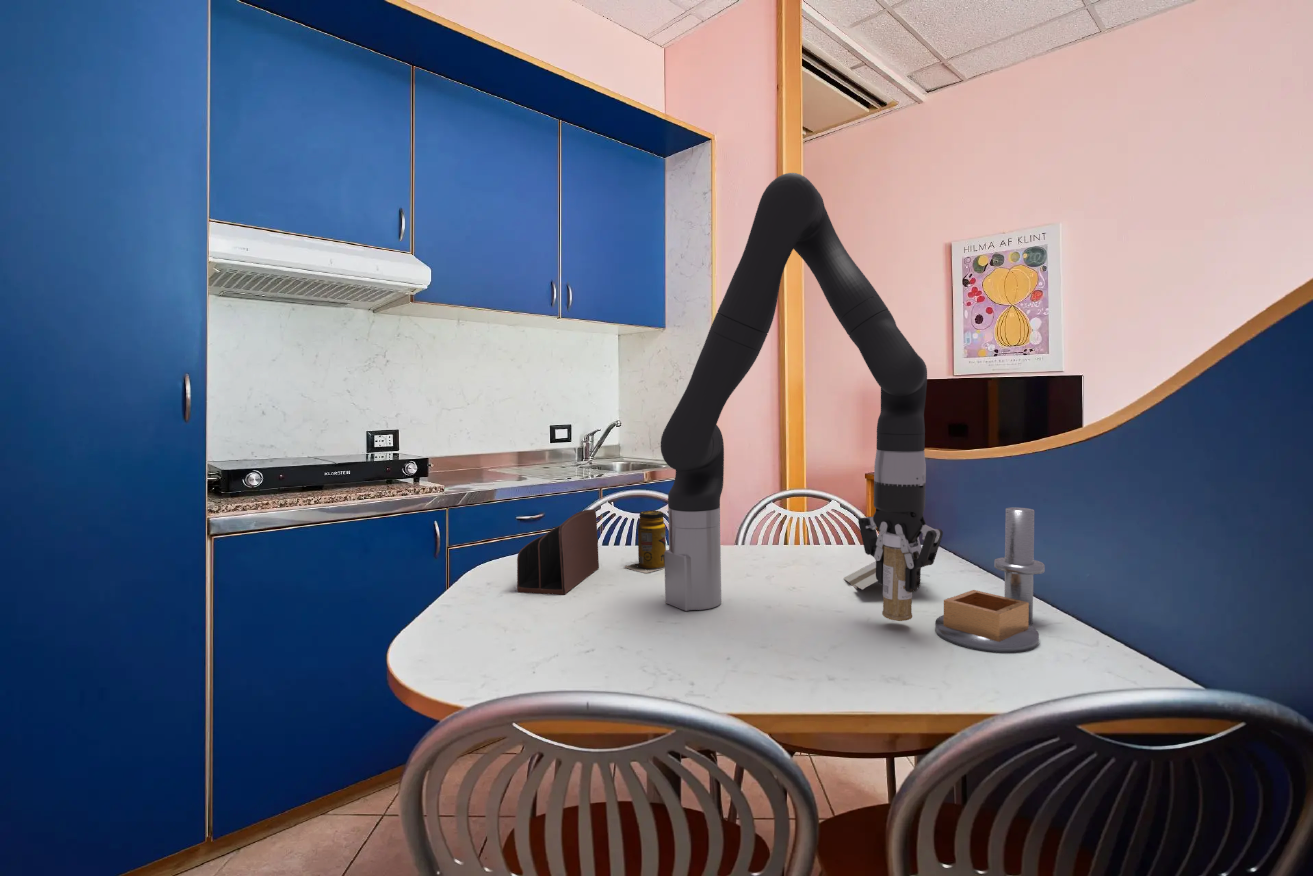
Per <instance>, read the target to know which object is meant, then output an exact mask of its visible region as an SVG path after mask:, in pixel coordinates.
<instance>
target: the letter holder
mask: <svg viewBox="0 0 1313 876" xmlns="http://www.w3.org/2000/svg"><path fill="white" fill-rule="evenodd" d="M516 563H517V564H516V568H517V569H516V571H517V572H516V573H517V574H516V576H517V577H516V583H517V584H516V587H517V589H516V590H517V591H516V592H517V593H519V594H520V593H523V594H538V595H539V594H540V595H556V596H566V594H568V592H570V591H571V590H573V589H574V588H575V587H577V586H578V585H580V584H581V583H582V582H583V581H585V580H586V579H587V578H589V577H590V576H591V575H592V574H594V573H595V572H596V571H597V570H599V569H600V563H599V543H598V522H597V512H596V511H595V510H594V509H592V508H591V509H585V510H581V511H578V512H576V513H575V514H572V515H571V516H570V517H568V518H567V519H566V520H565V521H563V522H562V523H561V524H560V525H558V526H555V527H554V528H552V529H551V530H550V531H548V532H547V533H545V534H543V535H541V536H538V537H537V538H535V539H533V540H532V541H530V542H529V543H527V544H526V545H524V546H523V547H522V548H521V549H520V550H519V552H518V554H517V559H516Z"/></svg>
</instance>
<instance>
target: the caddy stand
mask: <svg viewBox="0 0 1313 876" xmlns="http://www.w3.org/2000/svg"><path fill="white" fill-rule="evenodd" d="M1004 522H1005V527H1004V528H1005V530H1004V531H1005V532H1004V534H1005V537H1004V538H1005V539H1004V540H1005V541H1004V542H1005V544H1004V557H1003V556H1002V557H998V558H995V559H994V562H993V564H994V568H995V569H996V570H997V571H1001V572H1004V596H1002V595H997V594H993V593H988V592H984V591H980V590H975V589H972V590H969V591H966V592H963V593H960V594H957V595H954V596H951V597H948V598H947V599H946V598H945V599H943V615H940V616H938V617H937V618H936V619H935V624H934V626H935V627H934V628H935V633H936V635H937V636H939V637H940V638H941V639H943V640H945V641H947V642H948V643H951V644H953V645H956V646H959V647H962V648H966V649H971V650H974V651H975V650H976V651H979V652H980V651H981V652H987V653H988V652H989V653H996V654H997V653H999V654H1001V653H1002V654H1010V653H1013V654H1014V653H1015V654H1016V653H1023V652H1028V651H1031V650H1034V649H1036V648H1037V647H1038V646H1039V644H1040V634H1039V631H1038V630H1037V629H1036V628H1035V627H1034V626H1032V625H1033V623H1034V622H1033V619H1034V618H1033V617H1034V575H1040V574H1043V573H1045V569H1046V568H1045V563H1044V562H1042V561H1039V560H1036V559H1035V558H1034V557H1035V555H1034V554H1035V553H1034V551H1035V510H1034V509H1032V508H1027V507H1006V508H1005V521H1004Z"/></svg>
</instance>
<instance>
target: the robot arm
mask: <svg viewBox="0 0 1313 876" xmlns="http://www.w3.org/2000/svg"><path fill="white" fill-rule="evenodd" d="M751 225H752V226H751V229H750V232H749V235H748V239H747V242H746V244H745V247H744V250H743V253H742V256H741V257H740V260H739V262H738V265H737V267H736V269H735V271H734V273H733V275H732V277H731V280H730V283H729V285H728V287H727V289H726V291H725V295H724V297H723V298H722V301H721V303H720V305H719V307H718V310H717V312H716V314H715V315H714V319H713V321H712V323H711V325H710V329H709V330H708V333H707V336H706V339H705V342H704V344H703V347H702V349H701V351H700V354H699V356H698V358H697V360H696V361H697V362H696V364H695V367H694V369H693V371H692V375H691V377H690V379H689V382H688V383H687V386H686V388H685V391H684V393H683V394H682V397H681V398H680V400H679V401H678V404H677V405H676V408H675V409H674V411H673V413H672V415H671V417H670V418H669V420H668V422H667V424H666V425H665V428H664V430H663V432H662V435H661V438H660V453H661V456H662V459H663V460H664V462H665V464H666V465H667V466H668V467H670V468H672V470H675V474H674V475H675V478H674V481H673V485H672V486H671V488H670V490H669V491H668V494H667V508H668V511H667V513H668V515H667V516H668V519H667V520H668V549H666V551H665V552H664V559H665V569H664V597H665V600H664V603H665V604H668V605H670V606H673V607H675V608H677V609H680V610H682V611H685V612H688V611H696V610H697V611H698V610H699V611H702V610H708V609H713V608H716V607H718V606H720V605H721V604H722V561H721V559H722V557H721V554H722V553H721V550H722V549H721V546H722V545H721V496H722V493H723V488H724V479H725V478H724V474H725V473H724V469H725V467H724V466H725V446H724V437H723V434H722V431H721V429H720V427H719V425H718V422H719V419H720V416H721V414H722V412H723V409H724V407H725V405H726V403H727V401H728V400H729V398H730V397H731V395H732V394H733V392H735V390H736V389H737V387H738V386H739V385H740V383H741V382H742V381H743V379H744V378H745V377H746V375H748V372H749V371H750V370H751V368H752V367H753V365H754V364H755V362H756V360H757V358H758V356H759V355H760V352H761V350H762V349H763V345H764V344H765V342H766V339H767V337H768V334H769V332H770V329H771V327H772V324H773V321H774V318H775V317H774V316H775V313H776V309H777V304H778V299H779V292H780V286H781V282H782V281H781V280H782V278H783V274H784V271H785V268H786V266H787V263H788V261H789V258H790V256H791V254H792V252H793V250H794V251H795V253H797V255H799V256H800V258H801V259H802V260H803V261H804V262H805V264H806V265H807V267H808V268H809V270H810V271H811V273H812V274H813V275H814V277H815V279H816V282H817V283H818V285H819V287H820V288H821V291H822V293H823V295H824V297H825V299H826V301H827V303H828V305H829V307H830V308H831V310H832V311H833V313H834V315H835V317H836V319H837V320H838V322H839V323H840V325H841V326H842V328H843V329H844V331H845V332H846V334H847V335H848V337H849V339H850V340H851V341H852V343H854V345H855V346H856V347H857V349H858V351H859V352H860V355H861V357H862V358H863V361H864V362H865V364H866V366H867V368H868V370H869V372H870V373H871V375H872V376H873V378H874V380H875V381H876V383H877V384H878V386H879V387H880V413H879V416H878V419H877V424H876V454H875V458H874V471H873V472H874V474H873V478H874V480H873V506H874V508H875V511H874V514H873V516H865V517H860V518H859V519H858V520H857V521H858V522H857V523H858V527H859V531H860V535H861V539H862V540H861V541H862V544H863V549H864V553H865V554H866V555H868V556H869V555H870V556H871V557H873V558H874V560H875V561H876V579H877V580H878V581H877V584H879V585H882V586H883V563H884V544H883V536H884V534H886V533H892V534H897V536H899V537H900V547H901V551H902V553H903V554H904V555H905V560H906V564H907V567H908V568H906V577H905V590H906V591H907V592H912V593H913V592H916V591H918V589H920V587H921V581H920V579H921V571H922V570H921V569H922V568H925V567H927V566H932V565H933V564H934V562H935V559H936V556H937V554H938V550H939V548H940V544H941V541H942V538H943V535H944V532H943V530H942V529H940V528H933V527H931V526H929V525H927V522H926V521H925V520H926V519H925V518H924V512H925V509H926V487H927V486H926V485H927V483H926V480H927V465H926V464H927V462H926V455H925V447H926V446H925V445H926V443H925V440H926V435H925V433H926V428H925V425H926V424H925V408H926V398H927V386H928V368H927V365H926V362H925V360H924V359H923V358H922V357H921V356H920V355H919V354H918V352H916V351H915V349H914V348H913V346H912V345H911V343H910V342H909V341H908V339H907V337H905V336H904V334H903V333H902V331H901V330H900V329H899V327H898V326H897V323H896V320H895V319H894V316H893V314H892V313H891V311H890V310H889V308H888V306H887V305H886V303H885V302H884V301H883V299H882V298H881V296H880V295H879V293H878V292H877V291H876V289H875V287H874V286H873V285H872V284H871V282H870V281H869V279H868V277H866V275H865V274H864V273H863V271H862V270H861V269H860V268H859V266H858V265H857V263H856V262H855V261H854V260H853V259H852V257H851V256H850V254H849V253H848V252H847V251H848V250H846V248H845V247H844V245H843V243H842V241H841V239H840V238H839V236H838V234H837V232H836V230H835V228H834V226H833V223H832V221H831V219H830V216H829V214H828V212H827V208H826V207H825V203H824V199H823V196H822V195H821V193H820V192H819V190H818V189H817V187H816V186H815V185H814V184H813V183H812V182H811V180H810V179H808V178H807V177H805V175H802V174H800V173H797V172H788V173H784V174H781V175H779V176H777V177H776V178H774V179H773V180H772V181H771V182H770V183H769V184H768V186H766V188H765V190H764V191H763V193H762V195H761V197H760V200H759V202H758V205H757V210H756V213H755V215H754V219H753V222H752V224H751ZM876 528H877V529H876ZM877 530H878V533H877ZM921 534H922V537H921V539H922V540H923V542H922V544H921V542H920V535H921ZM902 539H903V540H902ZM911 543H914V546H913V547H910V546H909V544H911ZM921 548H922V549H921ZM920 551H921V552H920Z"/></svg>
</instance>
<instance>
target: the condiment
mask: <svg viewBox="0 0 1313 876" xmlns="http://www.w3.org/2000/svg"><path fill="white" fill-rule="evenodd" d="M638 521H639V524H638V525H637V549H638V550H637V551H638V556H637V557H638V562H637V563H633V564H629V565H625V566H623V567H624V568H626V569H629V570H632V571H635V572H640V573H644V574H649V573H653V572H656V571H659V570H665V559H664V552H665V551H666V550H667V548H666V546H667V544H666V541H667V540H666V536H667V535H666V525H665V523H664V521H665V519H664V512H663V511H661V510H645V511H641V512H639V519H638Z"/></svg>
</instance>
